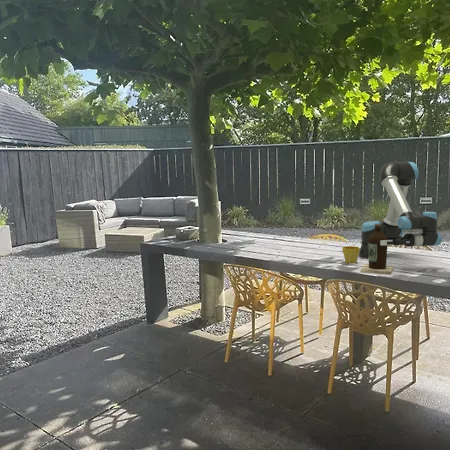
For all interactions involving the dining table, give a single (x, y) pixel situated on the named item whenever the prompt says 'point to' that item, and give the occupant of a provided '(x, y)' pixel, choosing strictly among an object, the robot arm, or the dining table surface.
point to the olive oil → (377, 249)
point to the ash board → (377, 270)
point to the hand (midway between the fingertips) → (375, 241)
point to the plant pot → (351, 253)
